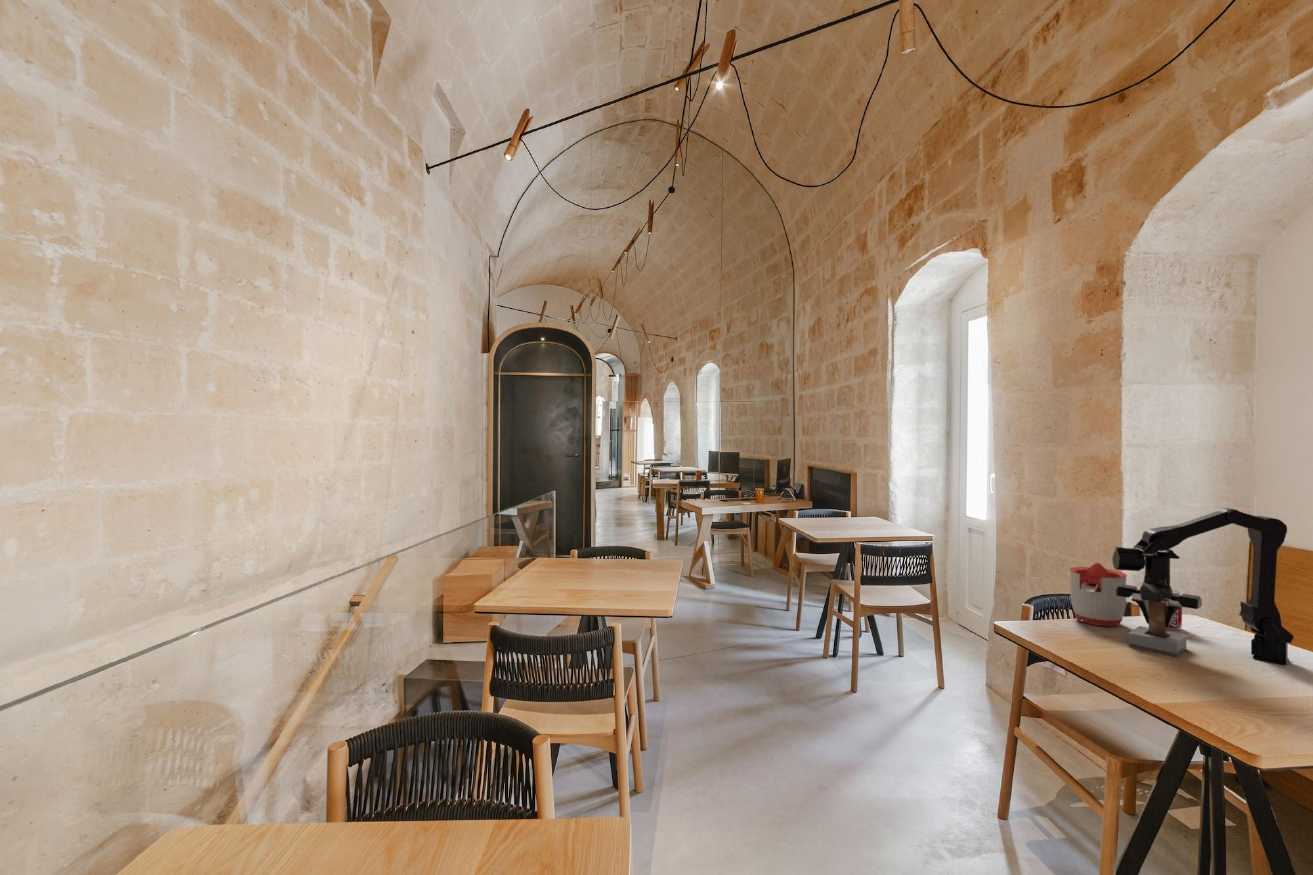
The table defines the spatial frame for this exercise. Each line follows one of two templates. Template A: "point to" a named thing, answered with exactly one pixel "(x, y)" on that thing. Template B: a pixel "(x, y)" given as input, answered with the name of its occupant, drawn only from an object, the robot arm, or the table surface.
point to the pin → (1157, 619)
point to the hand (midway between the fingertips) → (1157, 625)
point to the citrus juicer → (1097, 595)
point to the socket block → (1157, 642)
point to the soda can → (1175, 615)
